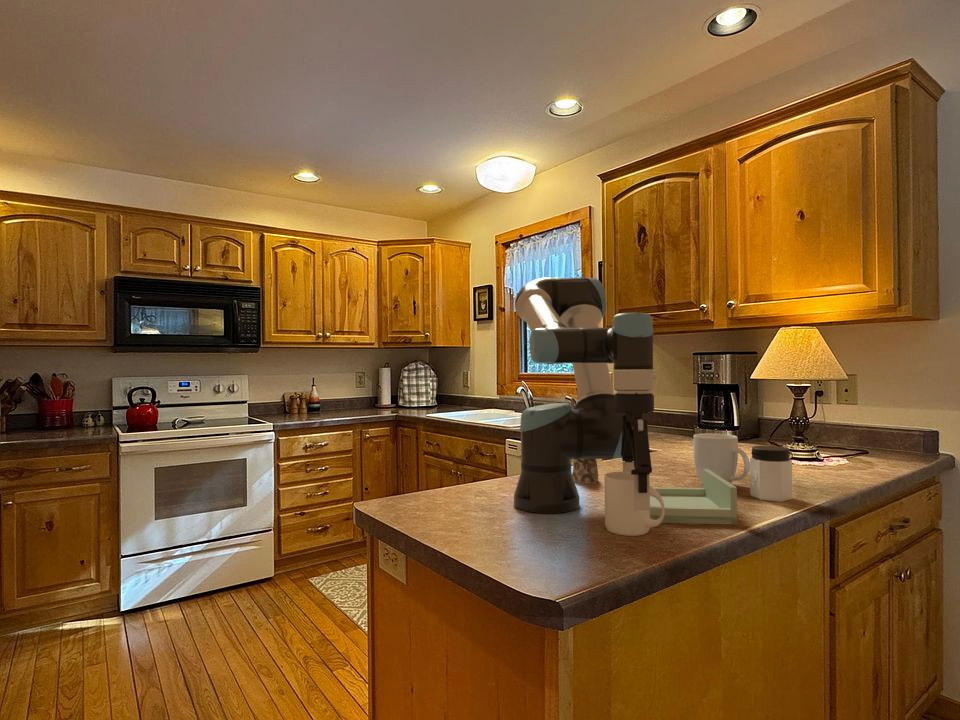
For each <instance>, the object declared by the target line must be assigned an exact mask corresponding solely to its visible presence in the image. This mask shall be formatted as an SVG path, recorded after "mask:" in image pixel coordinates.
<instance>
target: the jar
mask: <svg viewBox="0 0 960 720" xmlns="http://www.w3.org/2000/svg"><path fill="white" fill-rule="evenodd" d="M790 451H791V450H790V449H789V448H788V447H784V446H777V445H754V446H752V447H751V457H749V462H750V470H749V480H750V484H749V485H750V489H749V490H750V496H751V497H753V498H755V499H757V500H760V501H766V502H779V503H782V502H787V501H790V500H792V499H793V460H792V459H791V458H790V457H791V456H790V455H791V453H790Z"/></svg>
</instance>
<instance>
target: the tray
mask: <svg viewBox="0 0 960 720" xmlns="http://www.w3.org/2000/svg"><path fill="white" fill-rule="evenodd" d="M651 487H652V488H654V489H655V490H656V491H657V492H658V493H659V494H660V495H661V497H662V499H663V502H664V507H665V512H664V518H663V520H662V522H661V523H660V524H685V525H686V524H689V525H691V524H693V525H694V524H695V525H697V524H698V525H706V524H707V525H738V488H737V486H735V485H734V484H732V483H729V482H727V481H726V480H724V479H723V478H721V477H720V476H718V475H716V474H715V473H713V472H712V471H710V470H709V469H703V483H702V487H653V486H651ZM661 515H662V506H661V504H660V502H659V501H658V500H657V499H656V498H655V497H653V496H650V518H651V519H653V520H657V519H659V518H660V517H661Z"/></svg>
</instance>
